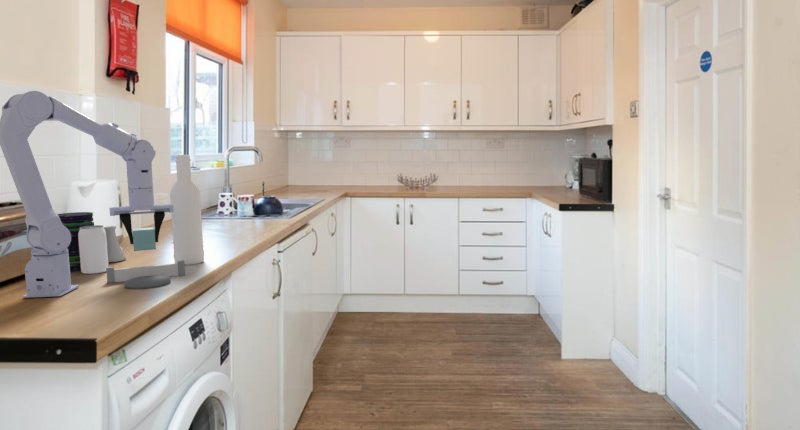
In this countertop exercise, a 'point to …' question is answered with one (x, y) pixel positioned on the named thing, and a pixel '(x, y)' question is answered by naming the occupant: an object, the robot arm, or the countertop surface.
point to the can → (93, 249)
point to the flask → (113, 245)
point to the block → (144, 239)
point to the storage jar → (75, 234)
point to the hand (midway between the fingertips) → (144, 242)
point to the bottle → (186, 215)
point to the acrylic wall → (145, 271)
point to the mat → (147, 282)
